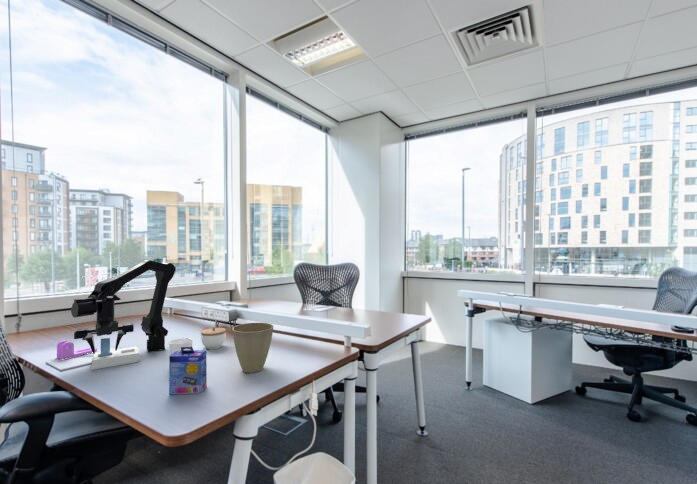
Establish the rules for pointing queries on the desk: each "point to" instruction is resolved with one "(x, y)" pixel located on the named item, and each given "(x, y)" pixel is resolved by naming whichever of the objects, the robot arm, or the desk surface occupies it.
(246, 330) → the plant pot
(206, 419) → the desk surface
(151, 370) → the desk surface
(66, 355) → the bracket
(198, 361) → the ink cartridge box
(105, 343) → the peg
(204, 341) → the lidded jar
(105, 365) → the hole block
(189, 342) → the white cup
